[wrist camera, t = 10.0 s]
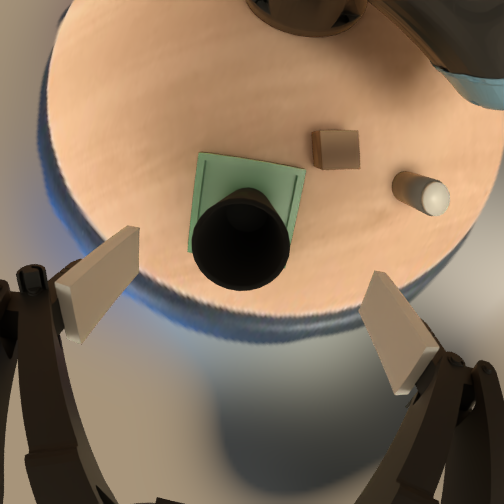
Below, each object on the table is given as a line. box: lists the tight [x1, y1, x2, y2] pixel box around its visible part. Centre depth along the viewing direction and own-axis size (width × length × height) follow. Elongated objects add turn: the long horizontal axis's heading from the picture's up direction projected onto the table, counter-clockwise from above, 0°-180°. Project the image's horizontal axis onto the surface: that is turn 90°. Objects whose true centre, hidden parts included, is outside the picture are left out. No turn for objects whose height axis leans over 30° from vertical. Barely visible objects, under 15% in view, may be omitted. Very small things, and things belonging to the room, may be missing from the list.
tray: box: [188, 152, 306, 268], centre depth 33 cm, size 12×12×2 cm
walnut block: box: [312, 130, 360, 170], centre depth 28 cm, size 4×4×5 cm
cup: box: [191, 187, 290, 291], centre depth 27 cm, size 8×8×12 cm
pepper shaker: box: [392, 171, 450, 216], centre depth 28 cm, size 4×4×8 cm
